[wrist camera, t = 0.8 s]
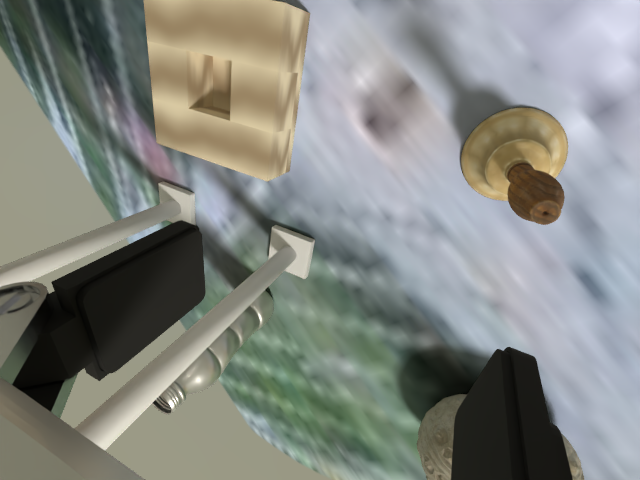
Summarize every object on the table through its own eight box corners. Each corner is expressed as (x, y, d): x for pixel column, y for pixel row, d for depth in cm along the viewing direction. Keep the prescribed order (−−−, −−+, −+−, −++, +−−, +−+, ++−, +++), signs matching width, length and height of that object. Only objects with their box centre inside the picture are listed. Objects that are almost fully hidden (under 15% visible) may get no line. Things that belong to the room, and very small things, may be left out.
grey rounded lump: (607, 425, 36) (648, 527, 27) (526, 491, 45) (539, 583, 37) (450, 355, 40) (445, 424, 32) (405, 428, 49) (392, 497, 41)
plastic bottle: (238, 293, 52) (130, 390, 36) (257, 273, 48) (147, 371, 32) (265, 321, 52) (170, 430, 36) (286, 302, 48) (191, 416, 32)
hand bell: (451, 129, 30) (435, 165, 16) (558, 90, 25) (651, 98, 12) (472, 209, 32) (473, 297, 19) (574, 185, 28) (666, 278, 14)
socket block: (180, -9, 34) (141, -22, 30) (310, 13, 30) (284, 2, 26) (187, 137, 43) (156, 143, 39) (289, 170, 38) (267, 181, 34)
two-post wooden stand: (159, 128, 44) (-454, 216, 15) (326, 183, 37) (-203, 547, 8) (166, 215, 51) (-238, 391, 22) (308, 275, 44) (-7, 645, 15)
